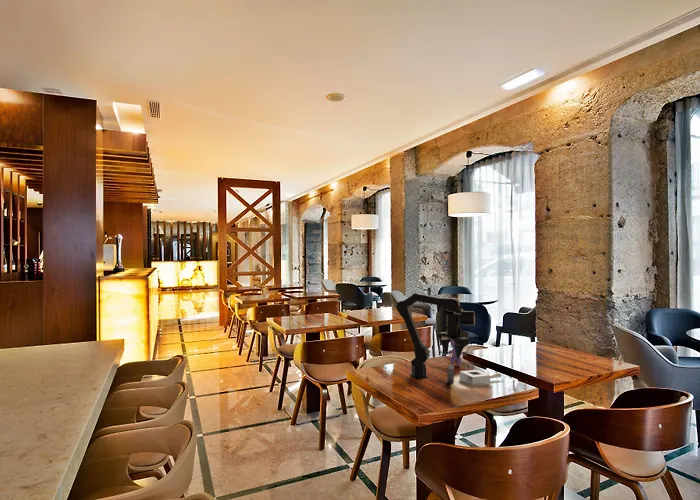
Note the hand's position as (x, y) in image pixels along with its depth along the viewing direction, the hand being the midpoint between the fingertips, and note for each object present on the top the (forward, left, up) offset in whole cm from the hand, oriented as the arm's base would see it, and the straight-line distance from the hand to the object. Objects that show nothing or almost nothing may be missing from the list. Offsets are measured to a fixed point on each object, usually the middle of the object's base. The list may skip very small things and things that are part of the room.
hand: (452, 356), depth 194 cm
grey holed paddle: (+14, -6, -12) cm, 19 cm away
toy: (+18, +23, -12) cm, 32 cm away
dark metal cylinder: (-2, -2, -12) cm, 12 cm away
